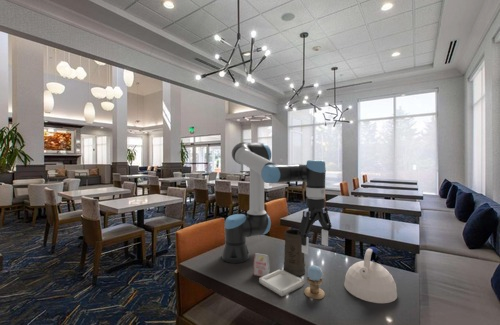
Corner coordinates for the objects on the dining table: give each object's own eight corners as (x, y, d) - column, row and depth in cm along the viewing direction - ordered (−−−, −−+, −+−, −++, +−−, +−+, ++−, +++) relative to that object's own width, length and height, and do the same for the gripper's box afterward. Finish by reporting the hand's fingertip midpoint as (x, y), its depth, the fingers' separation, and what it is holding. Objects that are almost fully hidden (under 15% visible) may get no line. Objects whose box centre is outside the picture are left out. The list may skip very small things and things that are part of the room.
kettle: (337, 291, 103) (337, 249, 102) (352, 273, 119) (353, 236, 118) (391, 311, 90) (392, 262, 89) (401, 288, 106) (402, 246, 105)
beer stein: (305, 277, 114) (306, 234, 115) (282, 275, 116) (283, 233, 117) (304, 265, 129) (305, 227, 130) (284, 263, 131) (285, 226, 132)
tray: (259, 282, 110) (259, 277, 110) (280, 273, 118) (280, 268, 118) (282, 296, 99) (282, 291, 99) (303, 285, 108) (303, 280, 108)
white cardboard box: (256, 271, 120) (256, 251, 120) (269, 274, 117) (269, 253, 117) (253, 274, 117) (253, 254, 117) (266, 277, 114) (266, 256, 114)
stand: (305, 298, 97) (306, 282, 97) (303, 287, 105) (303, 272, 105) (326, 299, 97) (326, 283, 96) (322, 288, 105) (322, 273, 104)
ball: (304, 279, 101) (304, 265, 101) (312, 275, 105) (313, 261, 105) (316, 285, 97) (316, 270, 96) (325, 280, 100) (325, 266, 100)
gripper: (304, 202, 89) (303, 260, 90) (340, 195, 105) (339, 244, 106) (288, 199, 95) (288, 253, 96) (325, 193, 111) (324, 240, 111)
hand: (315, 249), depth 101 cm, fingers open, 13 cm apart
